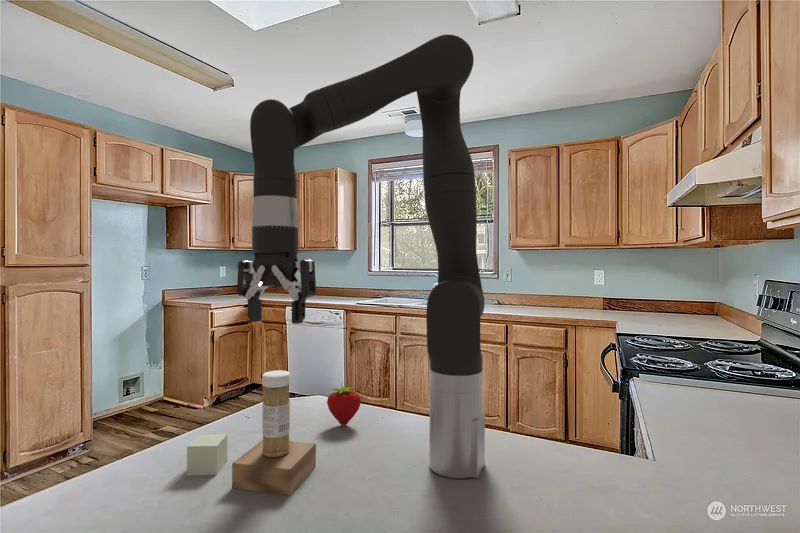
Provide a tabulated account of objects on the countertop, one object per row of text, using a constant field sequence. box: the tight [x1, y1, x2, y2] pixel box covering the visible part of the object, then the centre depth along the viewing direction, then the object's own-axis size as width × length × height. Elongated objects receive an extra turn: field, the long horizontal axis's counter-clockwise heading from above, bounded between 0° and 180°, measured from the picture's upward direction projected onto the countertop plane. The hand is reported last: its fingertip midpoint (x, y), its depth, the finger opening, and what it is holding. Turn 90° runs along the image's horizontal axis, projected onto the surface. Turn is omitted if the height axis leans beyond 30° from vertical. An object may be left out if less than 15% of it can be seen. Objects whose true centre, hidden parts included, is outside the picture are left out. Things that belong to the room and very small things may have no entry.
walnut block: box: [231, 439, 317, 496], centre depth 73 cm, size 10×10×4 cm
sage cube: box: [186, 433, 228, 476], centre depth 76 cm, size 5×5×5 cm
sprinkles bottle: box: [261, 369, 291, 457], centre depth 73 cm, size 5×5×14 cm
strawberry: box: [326, 381, 362, 426], centre depth 97 cm, size 6×8×10 cm
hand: (275, 322), depth 73 cm, fingers open, 8 cm apart
